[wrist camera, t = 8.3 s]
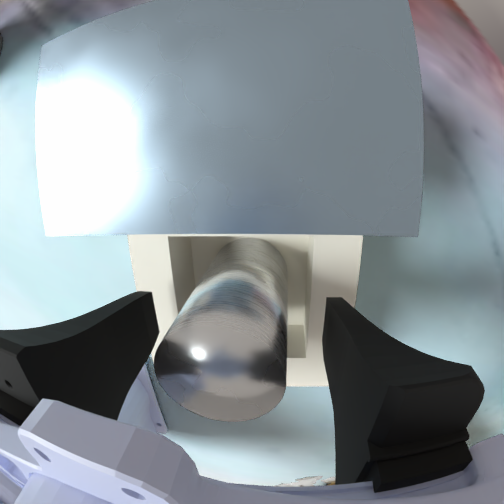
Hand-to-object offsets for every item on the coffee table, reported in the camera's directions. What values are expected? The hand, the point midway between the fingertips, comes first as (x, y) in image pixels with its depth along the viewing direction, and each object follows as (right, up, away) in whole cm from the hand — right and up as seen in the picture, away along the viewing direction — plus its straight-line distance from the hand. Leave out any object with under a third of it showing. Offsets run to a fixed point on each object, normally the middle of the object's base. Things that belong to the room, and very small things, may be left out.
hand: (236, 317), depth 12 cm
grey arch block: (0, +9, +2) cm, 9 cm away
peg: (+1, +1, +4) cm, 4 cm away
